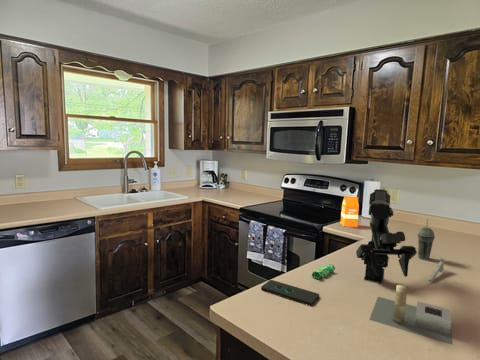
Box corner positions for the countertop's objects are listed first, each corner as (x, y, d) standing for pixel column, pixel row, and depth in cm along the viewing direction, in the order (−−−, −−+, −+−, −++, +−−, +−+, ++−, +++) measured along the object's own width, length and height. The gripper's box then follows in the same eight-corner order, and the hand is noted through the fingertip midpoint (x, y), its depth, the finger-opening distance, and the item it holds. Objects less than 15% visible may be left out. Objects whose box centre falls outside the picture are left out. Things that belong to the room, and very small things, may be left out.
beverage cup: (433, 258, 157) (438, 219, 154) (430, 262, 151) (434, 221, 149) (417, 254, 162) (421, 216, 159) (413, 258, 156) (417, 218, 154)
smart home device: (270, 278, 125) (320, 293, 115) (270, 283, 125) (319, 297, 115) (260, 286, 118) (311, 302, 108) (260, 291, 119) (311, 307, 108)
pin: (392, 322, 99) (396, 287, 98) (393, 317, 102) (397, 283, 100) (403, 325, 98) (407, 290, 96) (404, 320, 100) (407, 286, 99)
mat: (369, 320, 100) (369, 319, 100) (377, 297, 116) (377, 296, 116) (452, 345, 89) (452, 344, 89) (449, 315, 104) (449, 315, 104)
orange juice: (357, 227, 210) (359, 197, 207) (343, 227, 210) (346, 197, 207) (353, 224, 217) (355, 195, 215) (340, 224, 217) (342, 195, 215)
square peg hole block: (414, 325, 98) (416, 313, 97) (416, 312, 105) (417, 301, 105) (449, 335, 93) (451, 322, 93) (448, 321, 101) (449, 309, 100)
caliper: (440, 270, 143) (441, 256, 142) (443, 270, 142) (444, 257, 142) (427, 283, 129) (429, 268, 128) (430, 284, 128) (432, 269, 127)
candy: (321, 279, 127) (316, 269, 129) (314, 281, 130) (310, 271, 131) (336, 271, 136) (332, 262, 137) (330, 273, 138) (326, 264, 139)
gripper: (361, 221, 108) (372, 265, 98) (416, 223, 108) (432, 267, 98) (352, 236, 117) (360, 278, 107) (403, 238, 116) (416, 280, 107)
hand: (392, 276), depth 104 cm, fingers open, 9 cm apart
